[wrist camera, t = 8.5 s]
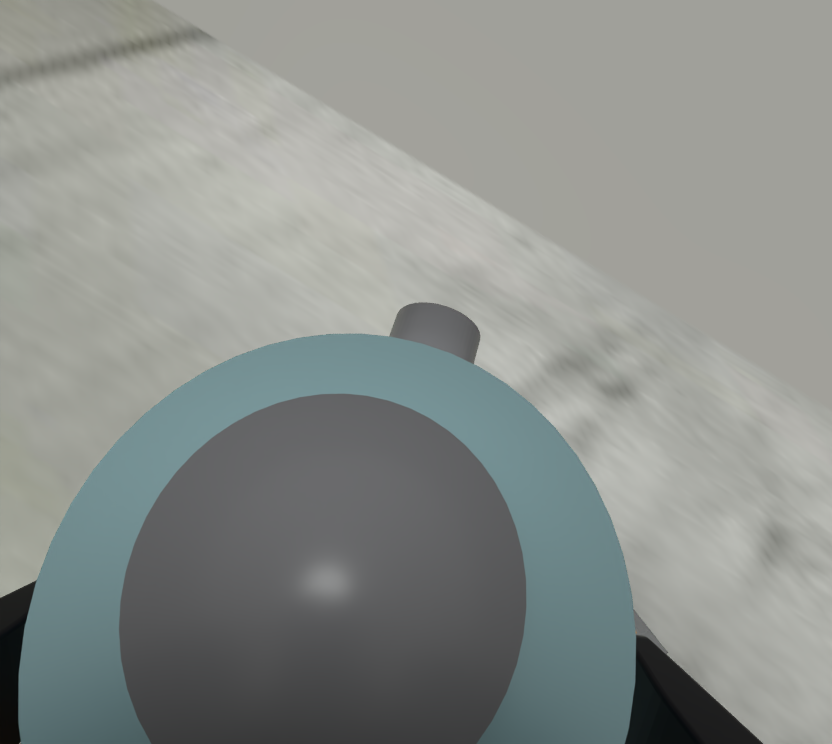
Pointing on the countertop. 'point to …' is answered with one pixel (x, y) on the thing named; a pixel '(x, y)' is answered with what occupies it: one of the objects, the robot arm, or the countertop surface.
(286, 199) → the countertop surface
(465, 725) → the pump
